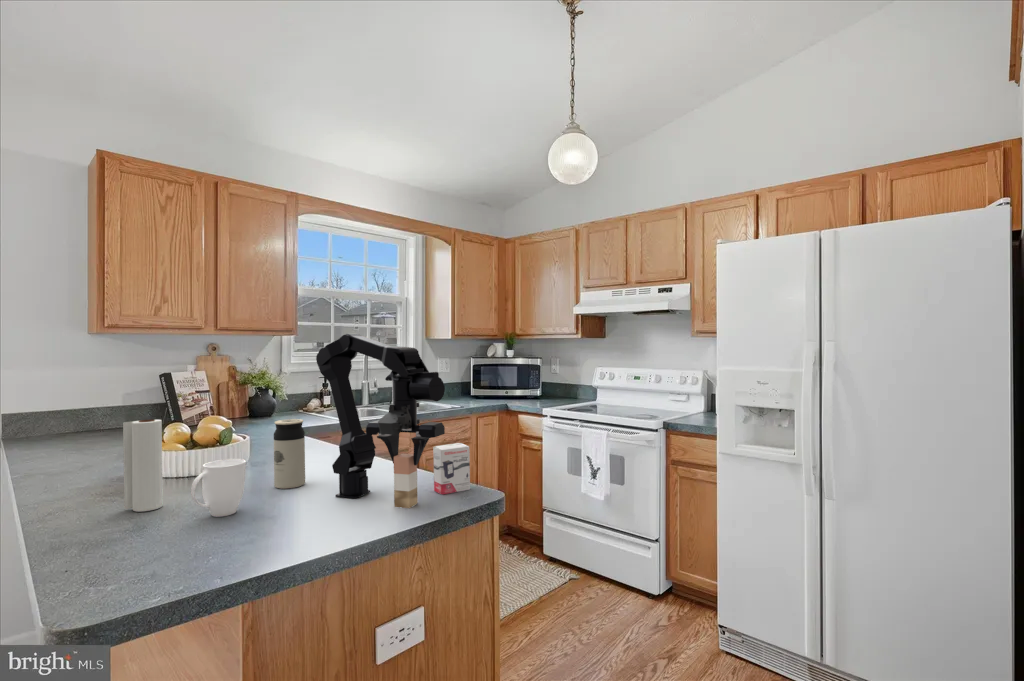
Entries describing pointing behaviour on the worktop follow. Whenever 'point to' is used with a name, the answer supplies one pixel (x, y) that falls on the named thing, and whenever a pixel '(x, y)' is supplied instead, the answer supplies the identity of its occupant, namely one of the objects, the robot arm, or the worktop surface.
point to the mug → (221, 486)
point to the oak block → (405, 498)
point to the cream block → (405, 481)
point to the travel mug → (289, 454)
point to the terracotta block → (404, 464)
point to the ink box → (451, 468)
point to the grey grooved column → (142, 465)
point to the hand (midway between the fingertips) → (405, 464)
